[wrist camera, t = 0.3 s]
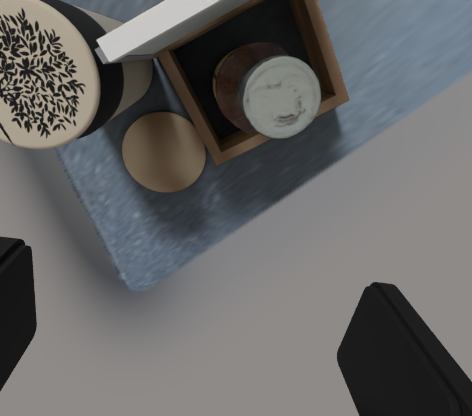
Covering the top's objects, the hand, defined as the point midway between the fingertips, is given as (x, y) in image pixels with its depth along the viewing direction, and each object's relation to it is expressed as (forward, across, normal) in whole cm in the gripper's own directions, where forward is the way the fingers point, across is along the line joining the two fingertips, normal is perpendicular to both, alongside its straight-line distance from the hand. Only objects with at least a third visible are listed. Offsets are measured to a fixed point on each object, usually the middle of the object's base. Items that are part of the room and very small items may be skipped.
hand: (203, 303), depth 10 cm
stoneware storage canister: (+30, +10, -3) cm, 31 cm away
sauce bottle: (+30, -3, -4) cm, 30 cm away
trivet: (+29, +4, +5) cm, 30 cm away
